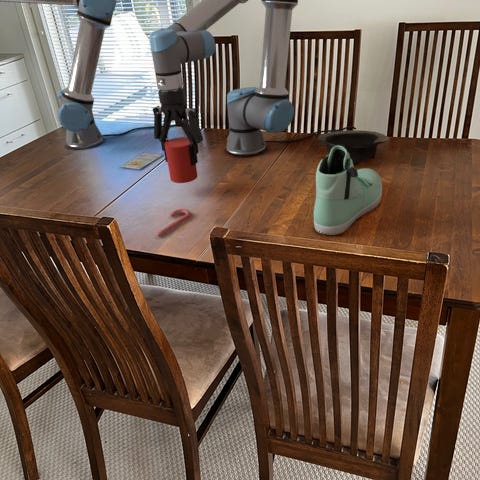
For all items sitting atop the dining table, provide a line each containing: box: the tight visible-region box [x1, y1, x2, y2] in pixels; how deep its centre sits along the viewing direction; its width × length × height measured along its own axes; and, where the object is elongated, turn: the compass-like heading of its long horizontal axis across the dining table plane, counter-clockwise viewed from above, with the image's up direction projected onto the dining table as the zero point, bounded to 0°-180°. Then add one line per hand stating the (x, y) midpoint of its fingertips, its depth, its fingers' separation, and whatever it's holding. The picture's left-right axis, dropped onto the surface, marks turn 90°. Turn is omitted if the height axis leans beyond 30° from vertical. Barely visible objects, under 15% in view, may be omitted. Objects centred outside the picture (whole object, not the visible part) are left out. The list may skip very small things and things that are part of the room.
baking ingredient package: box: [119, 152, 162, 170], centre depth 182 cm, size 9×1×15 cm
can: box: [165, 136, 198, 184], centre depth 149 cm, size 9×9×12 cm
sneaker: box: [313, 146, 383, 236], centre depth 133 cm, size 14×35×20 cm, turn 152°
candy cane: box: [156, 208, 192, 238], centre depth 138 cm, size 6×15×2 cm, turn 145°
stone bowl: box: [316, 129, 390, 165], centre depth 170 cm, size 25×25×9 cm
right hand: (181, 162), depth 149 cm, fingers closed on can, 9 cm apart
